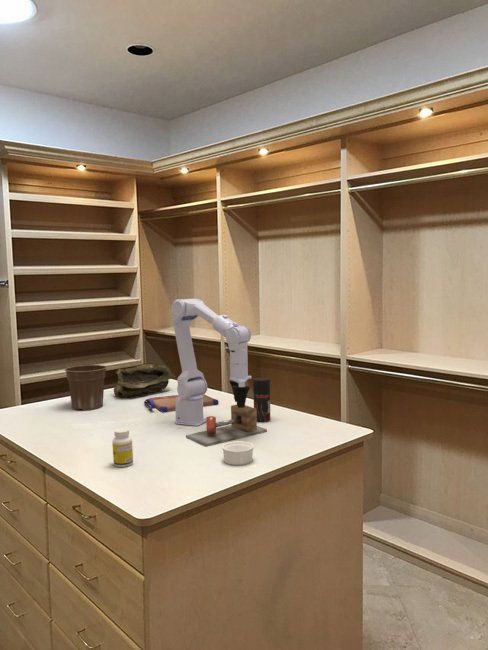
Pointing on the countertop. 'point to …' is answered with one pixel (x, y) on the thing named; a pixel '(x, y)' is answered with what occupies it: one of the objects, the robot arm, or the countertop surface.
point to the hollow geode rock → (142, 379)
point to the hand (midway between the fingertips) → (239, 404)
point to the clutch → (174, 402)
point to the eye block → (231, 428)
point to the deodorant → (262, 398)
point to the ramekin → (238, 452)
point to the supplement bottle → (122, 448)
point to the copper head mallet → (218, 424)
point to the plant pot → (86, 386)
